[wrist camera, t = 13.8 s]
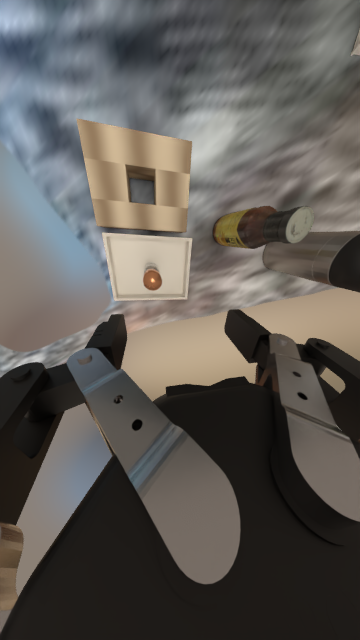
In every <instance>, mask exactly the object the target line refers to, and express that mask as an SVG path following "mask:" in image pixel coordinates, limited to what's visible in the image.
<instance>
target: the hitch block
mask: <svg viewBox="0 0 360 640" xmlns="http://www.w3.org/2000/svg"><path fill="white" fill-rule="evenodd" d="M77 124H78V129H79V134H80V139H81V145H82V150H83V155H84V160H85V166H86V171H87V176H88V181H89V186H90V192H91V197H92V202H93V207H94V213H95V218H96V223H97V226H101V227H106V228H120V229H134V230H149V231H163V232H177V233H182V232H186V227H187V212H188V196H189V181H190V165H191V150H192V141H187V140H182V139H177V138H172V137H167V136H162V135H157V134H152V133H147V132H142V131H137V130H132V129H127V128H122V127H117V126H112V125H107V124H102V123H97V122H92V121H87V120H82V119H77ZM129 178H135V179H142V180H149V181H154V202H155V205H150V204H141V203H131V192H130V180H129Z"/></svg>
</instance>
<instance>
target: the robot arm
mask: <svg viewBox="0 0 360 640" xmlns="http://www.w3.org/2000/svg"><path fill="white" fill-rule="evenodd" d="M263 262H264V265H265V266H266V267H267V268H268V269H271V270H275V271H279V272H282V273H286V274H290V275H294V276H297V277H301V278H305V279H309V280H312V281H316V282H320V283H324V284H328V285H332V286H335V287H339V288H344V289H348V290H352V291H356V292H360V231H345V232H309V233H308V234H307V235H306V236H305V237H304V238H303V239H302V240H301V241H299V242H297V243H293V244H285V243H282V242H270V243H268V244H267V246H266V248H265V250H264V254H263ZM225 333H226V335H227V336H228V337H229V338H230V340H231V341H232V342H233V344H234V345H235V346H236V347H237V349H238V350H239V351H240V352H241V354H242V355H243V356H244V358H245V359H246V360H247V361H248V363H256V362H257V363H258V364H257V366H256V378H255V384H253V383H249V382H248V381H247V379H246V378H245V377H244V376H243V377H236V378H228V379H225V380H222V381H220V382H218V383H216V384H213V385H211V386H202V385H191V384H183V385H176V386H169V387H166V394H164V395H163V396H160V397H159V398H157V399H155V400H154V401H153V402H152V401H151V400H150V399H149V397H147V395H146V394H145V393H144V392H143V391H142V390H141V389H140V388H139V387H138V386H137V384H136V383H135V382H134V381H133V380H132V379H131V378H130V377H129V376H128V375H127V374H126V372H125V371H123V369H121V365H122V360H123V355H124V351H125V347H126V342H127V331H126V325H125V320H124V315H123V314H113V315H111V316H110V318H109V320H108V322H103V323H101V324H100V325H99V326H98V327H97V328H96V330H95V332H94V334H93V336H92V337H91V339H90V340H89V342H88V344H87V346H86V347H85V349H83V350H80V351H78V352H76V353H74V354H73V355H72V356H70V357H69V359H68V360H67V363H65V364H62V365H58V366H55V367H52V368H48V369H46V368H45V367H44V365H43V364H42V363H39V362H33V363H28V364H24V365H21V366H19V367H16V368H14V369H12V370H10V371H9V372H7V373H6V374H5V375H3V376H2V377H1V378H0V640H360V361H358V360H357V359H355V358H353V357H352V356H350V355H348V354H347V353H345V352H344V351H342V350H340V349H339V348H337V347H335V346H334V345H332V344H330V343H329V342H326V341H324V340H321V339H317V338H309V339H308V340H307V342H306V344H305V345H303V344H296V343H295V342H294V341H293V340H292V339H291V338H289V337H287V336H285V335H282V334H271V333H270V332H269V331H268V330H266V329H265V328H264V327H263V326H261V325H260V324H259V323H257V322H256V321H255V320H254V319H252V318H251V317H249V316H247V315H246V314H245V313H243V312H242V311H241V310H239V309H236V310H229V311H228V314H227V318H226V323H225ZM326 367H327V368H328V369H330V370H331V371H332V372H334V373H335V374H336V375H337V376H339V377H340V378H341V379H342V380H343V381H344V383H345V390H343V391H342V392H341V394H339V393H338V392H337V391H336V390H335V389H334V388H333V387H332V386H330V385H329V384H328V383H327V382H326V381H325V380H323V379H322V378H321V377H320V375H321V374H322V372H323V371H324V370H325V368H326ZM82 403H85V404H86V406H87V407H88V409H89V411H90V413H91V415H92V417H93V419H94V421H95V423H96V425H97V427H98V429H99V431H100V433H101V435H102V437H103V439H104V441H105V442H106V445H107V446H108V448H109V450H110V452H111V454H112V457H111V459H110V460H109V462H108V463H107V465H106V466H105V468H104V469H103V471H102V472H101V473H100V475H99V476H98V478H97V479H96V481H95V482H94V484H93V485H92V487H91V488H90V489H89V491H88V492H87V494H86V495H85V497H84V498H83V500H82V501H81V503H80V504H79V505H78V507H77V508H76V510H75V511H74V513H73V514H72V516H71V517H70V519H69V520H68V522H67V523H66V525H65V526H64V528H63V529H62V530H61V532H60V533H59V535H58V536H57V538H56V539H55V541H54V542H53V544H52V545H51V546H50V548H49V550H48V551H47V552H46V554H45V555H44V557H43V558H42V560H41V561H40V563H39V564H38V566H37V567H36V569H35V570H34V572H33V573H32V575H31V576H30V578H29V580H28V581H27V583H26V585H25V586H24V588H23V590H22V592H21V593H20V595H19V597H18V595H17V592H16V573H17V569H18V565H19V561H20V558H21V554H22V550H23V544H24V543H23V542H24V538H23V533H22V530H21V529H20V528H19V527H18V526H16V524H17V521H18V519H19V517H20V514H21V512H22V509H23V507H24V505H25V502H26V500H27V498H28V495H29V493H30V491H31V488H32V486H33V484H34V481H35V479H36V477H37V474H38V472H39V470H40V467H41V465H42V463H43V460H44V458H45V456H46V453H47V451H48V449H49V446H50V444H51V442H52V439H53V437H54V435H55V432H56V430H57V428H58V425H59V423H60V421H61V418H62V416H63V414H64V411H65V410H68V409H70V408H72V407H75V406H77V405H80V404H82ZM336 425H337V426H338V427H339V428H340V429H341V430H342V431H341V430H340V429H338V427H337V426H336Z"/></svg>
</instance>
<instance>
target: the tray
mask: <svg viewBox="0 0 360 640" xmlns="http://www.w3.org/2000/svg"><path fill="white" fill-rule="evenodd" d="M102 235H103V241H104V247H105V252H106V258H107V263H108V269H109V274H110V280H111V285H112V291H113V296H114V301H125V300H172V299H187V294H188V282H189V270H190V258H191V246H192V238H178V237H163V236H147V235H131V234H116V233H102ZM148 262H153V263H155V264H156V265H157V267H158V270H159V273H160V276H161V279H162V285H161V287H160V288H159V289H157V290H154V291H152V290H148V289H147V288H146V287H145V286H144V284H143V277H144V268H145V265H146V264H147V263H148Z"/></svg>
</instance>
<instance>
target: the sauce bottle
mask: <svg viewBox="0 0 360 640" xmlns="http://www.w3.org/2000/svg"><path fill="white" fill-rule="evenodd" d="M313 220H314V213H313V211H312V209H311V208H310V207H307V206H302V207H297V208H294V209H291V210H290V211H284V212H282V211H280V212H277V211H276V209H274V208H272V207H270V206H262V207H259V208H251V209H247V210H243V211H239V212H235V213H231V214H227V215H225V216H223V217H221V218H220V219H219V220H218V221H217V222H216V224H215V226H214V229H213V236H214V239H215V240H216V242H218V243H219V244H221V245H223V246H232V247H240V248H250V249H255V248H258V247H261V246H263V245H265V244H268V243H270V242H282V243H285V244H293V243H297V242H299V241H301V240H302V239H303V238H304V237H305V236H306V235H307V234H308V233H309V231H310V229H311V227H312V224H313Z"/></svg>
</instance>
